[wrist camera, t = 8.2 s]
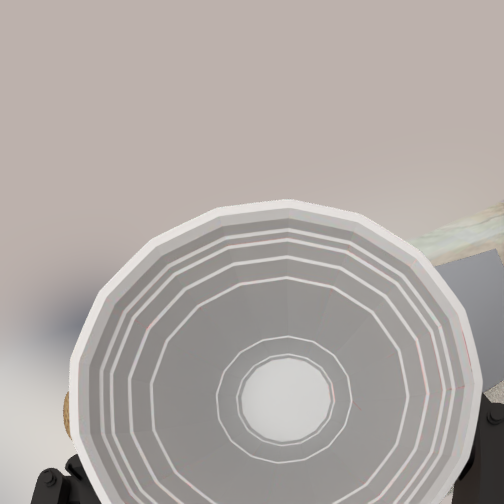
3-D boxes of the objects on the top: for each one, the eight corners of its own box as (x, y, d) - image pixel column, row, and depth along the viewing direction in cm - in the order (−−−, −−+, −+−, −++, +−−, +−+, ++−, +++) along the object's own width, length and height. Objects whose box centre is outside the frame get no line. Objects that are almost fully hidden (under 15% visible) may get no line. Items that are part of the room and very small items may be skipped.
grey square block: (473, 271, 28) (495, 248, 23) (502, 369, 21) (531, 359, 16) (387, 297, 29) (404, 274, 24) (415, 414, 22) (440, 415, 17)
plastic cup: (398, 438, 13) (530, 464, 2) (231, 495, 12) (137, 592, 2) (338, 292, 18) (378, 149, 8) (185, 344, 18) (60, 260, 8)
